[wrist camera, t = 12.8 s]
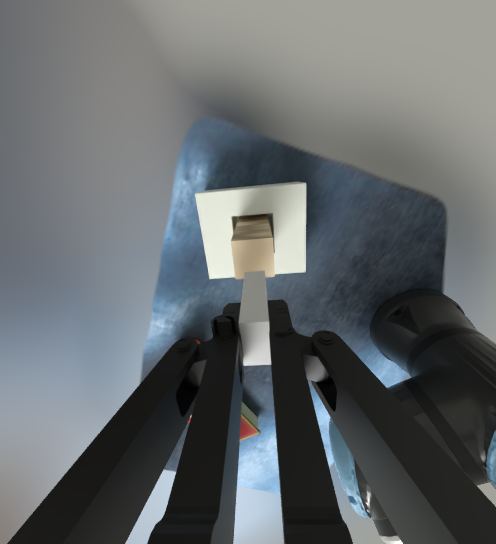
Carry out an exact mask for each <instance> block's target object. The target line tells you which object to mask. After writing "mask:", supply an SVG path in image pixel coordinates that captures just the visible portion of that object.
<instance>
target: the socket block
mask: <svg viewBox="0 0 496 544" xmlns="http://www.w3.org/2000/svg"><path fill="white" fill-rule="evenodd" d="M195 196H196V202H197V208H198V214H199V219H200V225H201V231H202V237H203V243H204V248H205V254H206V260H207V266H208V272H209V277H210V279H216V278H230V277H235V272H234V264H233V256H232V247H231V239H232V236H233V233H234V230H235V228H236V225H237V221H238V219H239V216H245V215H256V214H266V215H267V218H268V222H269V225H270V229H271V232H272V236H273V247H274V267H275V274H285V273H299V272H305V271H306V183H303V182H288V183H278V184H267V185H257V186H246V187H236V188H226V189H215V190H205V191H202V192H199V193H196V194H195Z"/></svg>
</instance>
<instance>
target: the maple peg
mask: <svg viewBox="0 0 496 544" xmlns="http://www.w3.org/2000/svg"><path fill="white" fill-rule="evenodd" d="M231 247H232V256H233V264H234V272H235V279H244V276H245V272H251V271H265V277H275V267H274V247H273V236H272V232H271V229H270V225H269V222H268V218H267V215H266V214H256V215H245V216H239V219H238V221H237V225H236V228H235V230H234V233H233V236H232V239H231Z"/></svg>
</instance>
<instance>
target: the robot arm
mask: <svg viewBox="0 0 496 544" xmlns="http://www.w3.org/2000/svg"><path fill="white" fill-rule="evenodd" d="M211 327H212V332H213V338H212V339H211V340H209V341H206V342H203V343H200V344H198V343H197V341H196V340H195V339H192V338H185V339H182V340H179V341H177V342H176V343H175V344H173V345H172V346H171V348H170V349H169V350H168V351H167V353H166V354H165V355H164V356H163V357H162V359H161V360H160V361H159V362H158V363H157V365H156V366H155V367H154V368H153V369H152V371H151V372H150V373H149V374H148V375H147V377H146V378H145V379H144V380H143V381H142V383H141V384H140V385H139V386H138V387H137V389H136V390H135V391H134V392H133V393H132V395H131V396H130V397H129V398H128V399H127V401H126V402H125V403H124V404H123V405H122V407H121V408H120V409H119V410H118V411H117V413H116V414H115V415H114V416H113V417H112V419H111V420H110V421H109V422H108V423H107V425H106V426H105V427H104V428H103V429H102V431H101V432H100V433H99V434H98V435H97V437H96V438H95V439H94V440H93V442H92V443H91V444H90V445H89V446H88V447H87V449H86V450H85V451H84V452H83V453H82V455H81V456H80V457H79V458H78V459H77V461H76V462H75V463H74V464H73V466H72V467H71V468H70V469H69V470H68V471H67V473H66V474H65V475H64V476H63V478H62V479H61V480H60V481H59V482H58V483H57V485H56V486H55V487H54V489H52V491H51V492H50V493H49V494H48V496H47V497H46V498H45V499H44V500H43V501H42V503H41V504H40V505H39V506H38V507H37V509H36V510H35V511H34V512H33V514H32V515H31V516H30V517H29V518H28V519H27V521H26V522H25V523H24V524H23V525H22V527H21V528H20V529H19V530H18V531H17V533H16V534H15V535H14V536H13V537H12V539H11V540H10V541H9V542H8V543H7V544H125V542H126V541H127V539H128V537H129V535H130V533H131V531H132V529H133V527H134V525H135V523H136V521H137V520H138V518H139V516H140V514H141V512H142V510H143V508H144V506H145V504H146V502H147V500H148V498H149V496H150V494H151V492H152V491H153V489H154V487H155V484H156V483H157V481H158V479H159V477H160V475H161V473H162V471H163V469H164V467H165V465H166V463H167V462H168V460H169V458H170V456H171V454H172V452H173V450H174V448H175V446H176V444H177V442H178V440H179V438H180V436H181V434H182V432H183V431H184V429H185V427H186V425H187V423H188V421H189V419H190V417H191V420H190V423H189V427H188V431H187V434H186V438H185V442H184V445H183V449H182V453H181V457H180V460H179V464H178V468H177V471H176V475H175V479H174V482H173V486H172V490H171V494H170V497H169V501H168V505H167V508H166V511H165V514H164V516H163V518H162V519H161V521H159V522H158V523H157V524H156V525H155V527H154V529H153V531H152V532H151V535H150V537H149V540H148V543H147V544H233V538H234V522H235V505H236V490H237V474H238V458H239V443H240V427H241V411H242V395H243V379H244V371H243V362H244V366H248V365H271V369H272V383H273V397H274V411H275V425H276V438H277V452H278V466H279V480H280V493H281V507H282V521H283V533H284V544H353V542H352V539H351V535H350V533H349V530H348V528H347V525H346V523H345V522H344V521H343V519H342V517H341V514H340V510H339V506H338V502H337V498H336V494H335V490H334V486H333V482H332V478H331V474H330V470H329V466H328V462H327V457H326V453H325V449H324V445H323V441H322V437H321V433H320V429H319V425H318V421H317V417H316V413H315V409H314V405H313V400H312V396H311V392H310V388H309V384H308V380H311V382H312V385H313V387H314V388H315V390H316V392H317V394H318V395H319V397H320V399H321V401H322V402H323V404H324V406H325V408H326V410H327V411H328V413H329V415H330V417H331V418H330V422H329V437H330V444H331V449H332V454H333V458H334V462H335V466H336V469H337V472H338V475H339V478H340V481H341V484H342V486H343V489H344V491H345V493H346V494H347V495H348V498H349V501H350V504H351V505H352V507H353V509H354V510H355V511H356V513H358V514H359V515H360V516H363V517H366V518H371V517H372V519H373V521H374V523H375V525H376V528H377V530H378V533H379V535H380V537H381V539H382V540H383V541H384V542H385V543H386V544H496V507H495V506H494V504H493V503H492V502H491V501H490V500H489V499H488V498H487V497H486V496H485V495H484V494H483V492H482V491H481V490H480V489H479V488H478V487H477V485H481V484H484V483H488V482H491V484H492V485H493V487H494V488H495V489H496V344H495V343H494V342H492V341H491V340H490V339H488V338H487V337H485V336H484V335H482V334H481V333H480V332H478V331H477V330H476V329H475V327H474V326H473V324H472V323H471V322H470V320H469V319H468V318H467V317H466V316H465V314H464V312H463V310H462V309H461V307H460V306H459V305H458V304H457V303H456V302H455V301H453V300H452V299H450V298H449V297H447V296H446V295H444V294H442V293H440V292H438V291H435V290H430V289H417V290H411V291H407V292H404V293H402V294H399V295H397V296H395V297H393V298H392V299H390V300H389V301H387V302H386V303H385V304H384V305H383V306H382V307H381V308H380V309H379V310H378V311H377V313H376V314H375V316H374V318H373V320H372V322H371V326H370V335H371V339H372V341H373V343H374V344H375V346H376V347H377V349H378V350H379V351H380V353H381V354H382V355H383V356H385V357H386V358H387V359H389V360H391V361H393V362H394V363H396V364H397V365H398V366H399V367H401V368H402V369H403V370H405V371H406V372H407V373H409V375H410V376H411V377H412V378H410V379H408V380H405V381H402V382H400V383H397V384H395V385H393V386H390V387H388V388H386V387H385V386H384V385H383V384H382V382H381V381H380V380H379V379H378V378H377V377H376V376H375V375H374V374H373V373H372V372H371V370H370V369H369V368H368V367H367V366H366V365H365V364H364V363H363V362H362V361H361V360H360V359H359V357H358V356H357V355H356V354H355V353H354V352H353V351H352V350H351V349H350V348H349V347H348V345H347V344H346V343H345V342H344V341H343V340H342V339H341V338H340V337H339V336H338V335H337V334H335V333H333V332H331V331H325V330H324V331H318V332H315V333H314V334H313V335H312V337H307V336H303V335H300V334H298V333H297V332H296V331H295V330H294V328H293V327H292V323H291V318H290V314H289V310H288V306H287V303H286V302H285V301H284V300H268V301H267V291H266V279H265V271H251V272H245V276H244V284H243V292H242V300H241V303H229V304H227V305H226V306H225V307H224V310H223V314H222V315H220V316H217V317H215V318H214V319H213V320H212V321H211ZM191 415H192V416H191Z"/></svg>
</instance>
